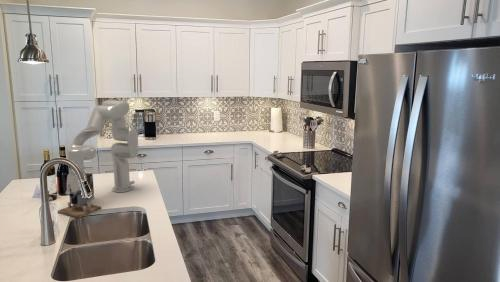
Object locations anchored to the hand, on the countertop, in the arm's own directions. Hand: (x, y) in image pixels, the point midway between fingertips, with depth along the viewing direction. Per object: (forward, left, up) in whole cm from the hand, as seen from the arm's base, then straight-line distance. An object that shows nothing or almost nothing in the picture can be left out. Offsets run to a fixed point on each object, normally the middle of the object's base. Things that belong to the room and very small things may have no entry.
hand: (78, 201), depth 204 cm
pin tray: (0, 0, -5) cm, 5 cm away
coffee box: (-13, -11, -6) cm, 18 cm away
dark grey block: (0, 0, -1) cm, 1 cm away
